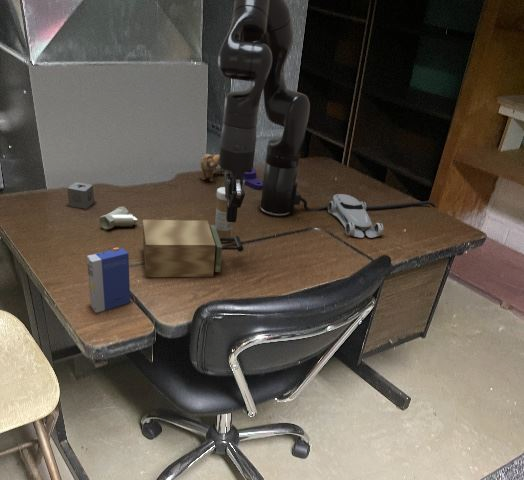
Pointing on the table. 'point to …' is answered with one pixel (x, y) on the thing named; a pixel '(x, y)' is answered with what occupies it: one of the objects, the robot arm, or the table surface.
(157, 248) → the cabinet
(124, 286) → the walkman
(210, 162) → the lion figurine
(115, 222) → the pipe fitting
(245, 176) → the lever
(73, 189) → the dice cube
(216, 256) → the drawer
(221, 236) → the sprinkles bottle
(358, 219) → the car model
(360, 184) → the table surface
